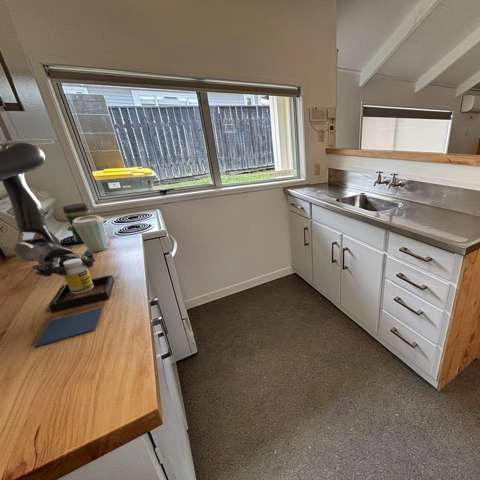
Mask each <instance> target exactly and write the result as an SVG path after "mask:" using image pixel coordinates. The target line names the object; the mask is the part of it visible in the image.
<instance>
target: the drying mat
mask: <svg viewBox="0 0 480 480" xmlns="http://www.w3.org/2000/svg"><path fill="white" fill-rule="evenodd" d="M102 310H103V308H102V307H99V308H95V309H90V310H87V311H82V312H79V313H75V314H71V315H67V316H64V317H59V318H56V319H52V320H49V322H48V324H47V325H46V327H45V328H44V330H43V332H42V333H41V335H40V337H39V338H38V340H37V342H36V343H35V345H34V348H38V347H41V346H45V345H48V344H52V343H55V342H59V341H62V340H63V341H64V340H66V339H69V338H73V337H76V336H79V335H83V334H86V333H91V332H93V331H95V330H96V327H97V326H98V325H97V324H98V322H99V318H100V315H101V312H102Z"/></svg>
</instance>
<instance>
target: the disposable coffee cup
mask: <svg viewBox="0 0 480 480" xmlns="http://www.w3.org/2000/svg"><path fill="white" fill-rule="evenodd" d="M104 224H105V223H104V218H103V217H101V216H100V215H97V214H96V215H95V214H90V216H84V217H79V218H76V219H74V220H73V223H72V226H73V227H74V228H75V230H76V231H77V233H78V234H79V236H80V237H81V239H82V240H83V242H82V243H83V244H84V245H85V247H86V248H87V251H90V252H91V253H94V252H101V251H103V250H106V249H107V248H108V240H107V235H106V229H105V225H104Z"/></svg>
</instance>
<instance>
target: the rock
mask: <svg viewBox="0 0 480 480" xmlns="http://www.w3.org/2000/svg"><path fill="white" fill-rule="evenodd" d="M49 232H50V234H51V235H52V237H53V238H54V240H55V241H56V243H57V245H58V246H62V245H63V244H62V243H61V241H60V240H59V239H58V237H57V236H56V235H55V234H54V233H53V232H52V231H51V230H49ZM33 234H34V235H33V237H32V239H37V238H41V237H40V236H39V235H38V234H36V233H33ZM62 247H63V246H62Z"/></svg>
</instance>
